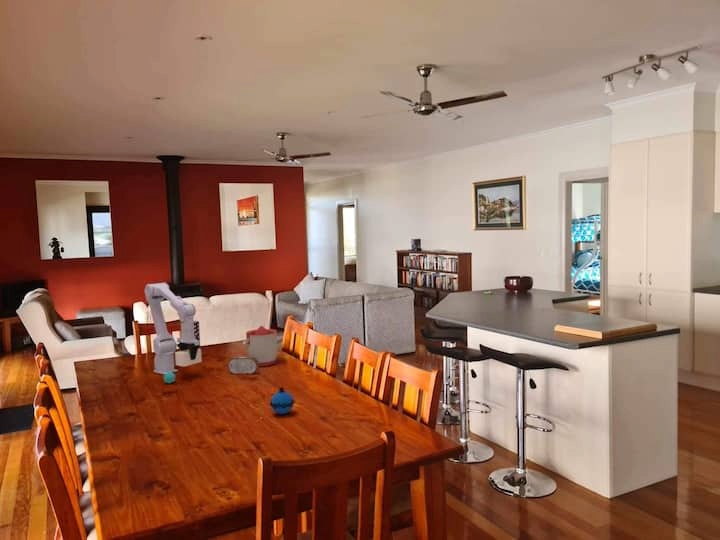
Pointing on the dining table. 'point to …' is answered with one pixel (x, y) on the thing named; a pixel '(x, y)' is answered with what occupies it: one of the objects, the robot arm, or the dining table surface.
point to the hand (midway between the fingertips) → (188, 358)
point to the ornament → (282, 402)
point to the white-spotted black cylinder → (196, 331)
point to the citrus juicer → (262, 345)
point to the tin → (243, 365)
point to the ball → (169, 377)
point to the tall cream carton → (187, 358)
